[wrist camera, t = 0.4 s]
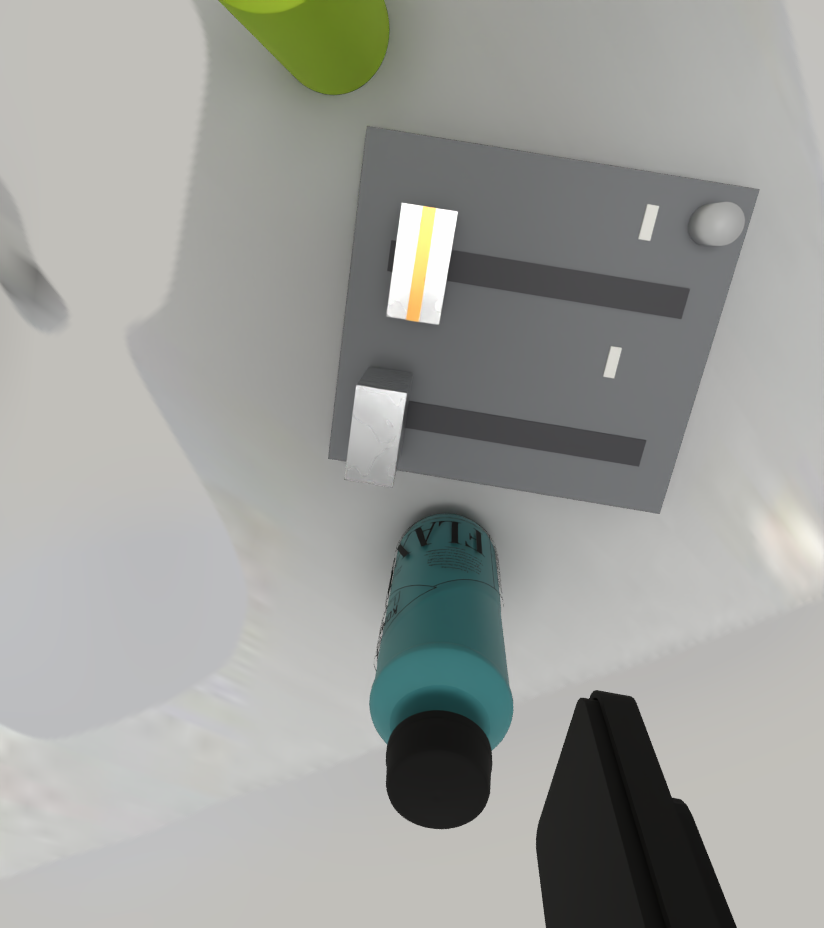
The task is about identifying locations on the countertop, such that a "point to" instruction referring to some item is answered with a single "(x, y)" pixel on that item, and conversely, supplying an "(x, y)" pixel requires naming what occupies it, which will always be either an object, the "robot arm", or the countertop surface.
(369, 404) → the fader tab
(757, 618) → the countertop surface
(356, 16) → the soap dispenser
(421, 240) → the fader tab
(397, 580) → the beverage bottle
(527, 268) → the console
